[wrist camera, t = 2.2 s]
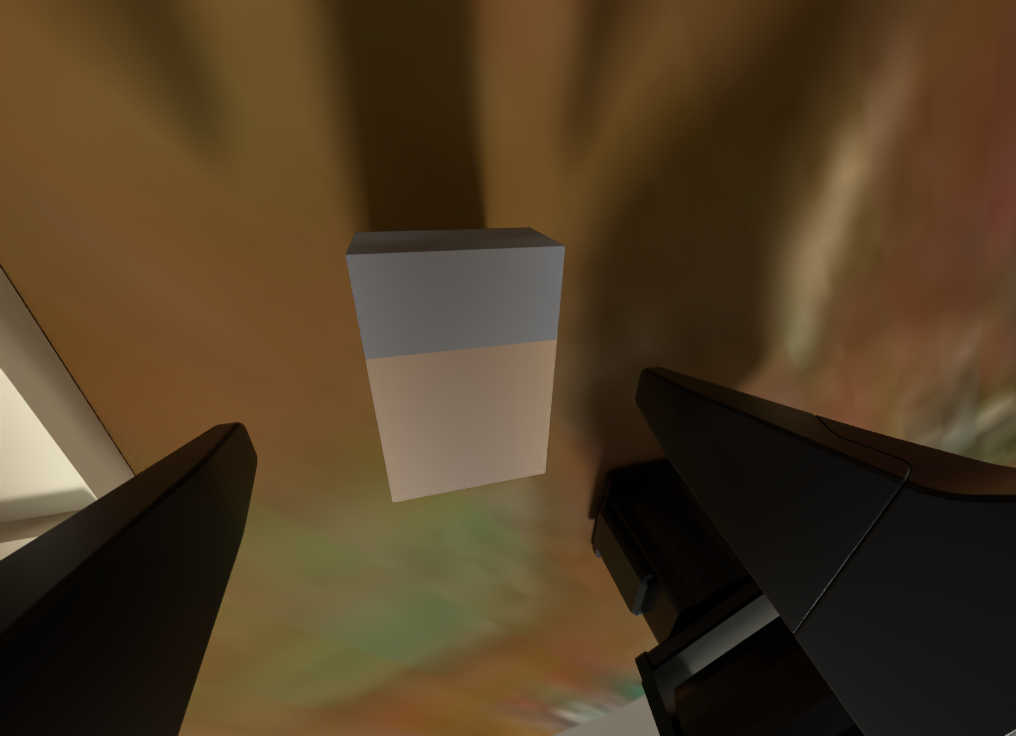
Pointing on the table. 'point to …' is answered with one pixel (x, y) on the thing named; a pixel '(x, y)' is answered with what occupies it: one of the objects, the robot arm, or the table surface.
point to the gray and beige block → (458, 351)
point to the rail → (44, 434)
